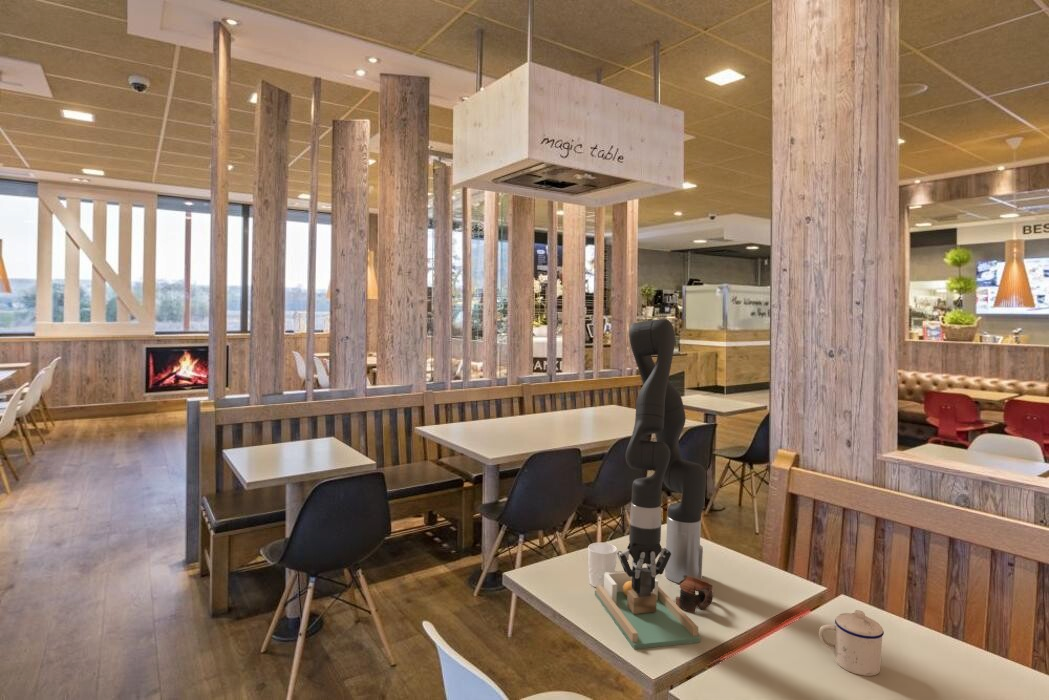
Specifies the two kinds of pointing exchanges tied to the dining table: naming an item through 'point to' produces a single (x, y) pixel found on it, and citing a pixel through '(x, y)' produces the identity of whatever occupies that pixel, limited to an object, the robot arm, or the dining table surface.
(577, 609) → the dining table surface
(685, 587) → the pottery mug
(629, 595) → the striker
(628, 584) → the ball
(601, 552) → the white cup
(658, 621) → the pitch
